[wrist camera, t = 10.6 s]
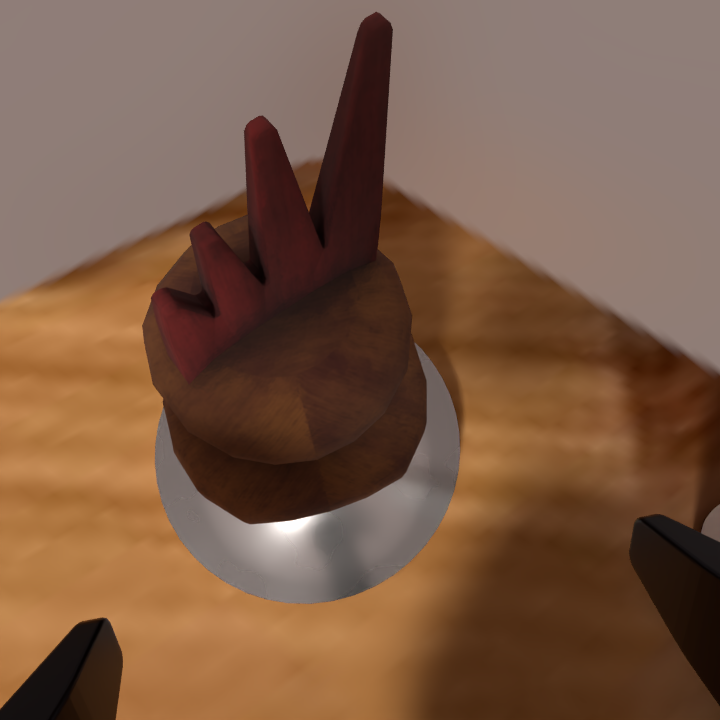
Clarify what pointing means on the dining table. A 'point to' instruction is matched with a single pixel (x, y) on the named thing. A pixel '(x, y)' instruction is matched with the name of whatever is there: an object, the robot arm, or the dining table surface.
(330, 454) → the wooden figurine
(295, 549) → the plate
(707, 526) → the white upright block
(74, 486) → the dining table surface
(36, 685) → the robot arm
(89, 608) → the dining table surface
